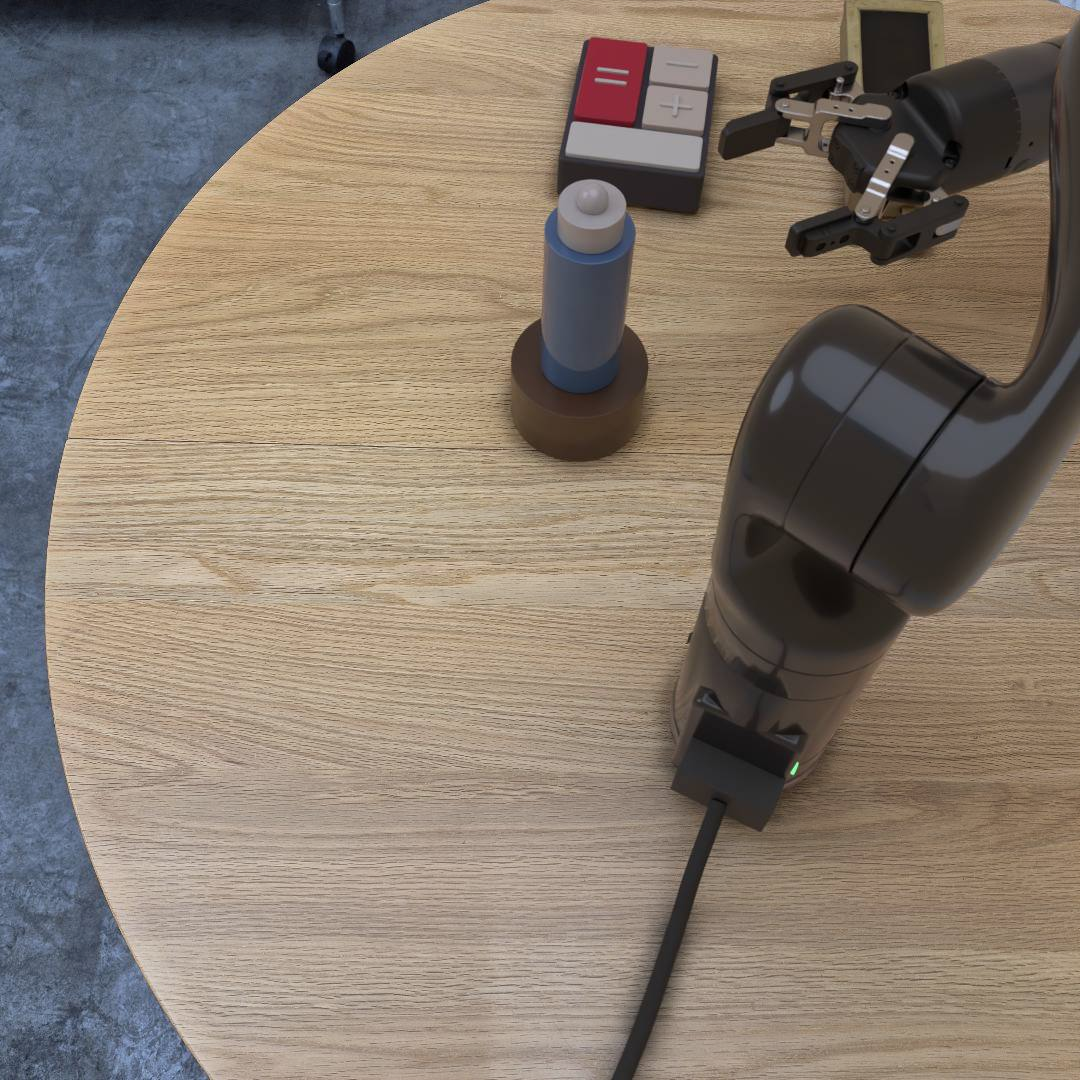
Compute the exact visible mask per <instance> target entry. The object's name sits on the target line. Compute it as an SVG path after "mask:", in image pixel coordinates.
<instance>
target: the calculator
mask: <svg viewBox="0 0 1080 1080" xmlns="http://www.w3.org/2000/svg"><path fill="white" fill-rule="evenodd" d="M718 67H719V56H718V55H717V54H716V53H715V54H714V52H713V51H712V50H705V49H697V48H689V47H682V46H681V47H680V46H675V45H674V46H672V45H664V44H656V45H655V46H651V45H650V46H649V45H648V43H645V42H639V41H633V40H622V39H614V38H608V37H607V38H605V37H598V36H591V37H590V38H589V39H585V40H584V41H583V44H582V48H581V52H580V56H579V61H578V66H577V71H576V75H575V80H574V84H573V89H572V94H571V98H570V102H569V107H568V111H567V116H566V121H565V126H564V130H563V135H562V139H561V144H560V148H559V154H558V159H557V160H558V162H557V180H556V194H557V195H558V196H560V194H561V193H562V191H563V190H564V189H565V188H566V187H568V186H569V185H571V184H573V183H575V182H578V181H581V180H600V181H604V182H607V183H609V184H611V185H613V186H615V187H616V188H617V189H618V190H620V192H621V193H622V194H623V196H624V198H625V200H626V206H633V207H642V208H649V209H659V210H664V211H665V210H666V211H673V212H681V213H689V214H695V213H697V212H698V211H699V208H700V204H701V198H702V193H703V187H704V182H705V181H704V180H705V176H706V168H707V161H708V160H707V157H708V152H709V143H710V135H711V124H712V118H713V109H714V102H715V101H714V100H715V92H716V85H717V83H716V82H717V76H718V75H717V74H718Z"/></svg>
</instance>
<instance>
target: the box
mask: <svg viewBox="0 0 1080 1080" xmlns="http://www.w3.org/2000/svg"><path fill="white" fill-rule="evenodd" d="M945 41H946V40H945V18H944V3H943V2H942V1H939V0H844V2H843V15H842V19H841V21H840V26H839V62H843V61H852V62H854V63H856V64H857V65H858V67H859V69H858V72H857V76H856V81H857V83H858V84H859V85H860V87H861V88H862V90H863V91H864V92H865V93H874V94H884V93H888V92H890V91H892V90H893V89H895V88H896V87H898V86H899V85H900V84H902V83H903V82H904V81H906V80H907V79H909V78H911V77H912V76H915V75H918V74H921V73H924V72H928V71H931V70H934V69H938V68H941V67H944V66H947V55H946V42H945ZM842 178H843V207H844V206H847V207H848V208H849V210H850V211H854V210H855V207H856V206H857V204H858V202H859V201H860V199H861V197H862V195H861V194H859V193H858V192H857V193H854V194H853V193H852V191H851V190H850V189H849V188H848V186H847V185H846V182H845V179H844V177H842ZM953 195H956V194H953ZM950 196H952V195H950ZM922 206H923V205H911V204H905V203H899V202H893V201H891V202H890V203H889V205H888V207H887V208H886V210H885V212H884V214H883V215H882V217H890V218H891V217H892V218H897V217H899V216H902V215H904V214H907V213H909V212H912V211H914V210H917V209H919V208H922ZM920 253H923V251H920V252H918V253H915V254H914V255H917V254H920Z"/></svg>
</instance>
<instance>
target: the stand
mask: <svg viewBox="0 0 1080 1080" xmlns="http://www.w3.org/2000/svg"><path fill="white" fill-rule="evenodd" d="M512 348H513V349H512V351H511V355H510V411H511V417H512V421H513V424H514V426H515V428H516V430H517V432H519V434H520V436H521V437H522V438H523V440H525V442H526V443H528V445H530V446H531V447H533V449H536V450H537V451H538V452H540V453H542V454H544V455H546V456H548V457H551V458H554V459H557V460H562V461H567V462H589V461H595V460H599V459H602V458H605V457H608V456H610V455H612V454H614V453H616V452H618V451H619V450H620V449H622V448H623V447H624V446H625V445H626V444H628V442H629V441H630V440H632V438H633V437H634V435H635V434H636V432H637V430H638V427H640V426H639V425H640V423H641V419H642V413H643V407H644V401H645V394H646V390H647V389H646V388H647V382H648V375H649V366H650V365H649V357H648V353H647V350H646V348H645V346H644V343H643V342H642V340H641V339H640V337H639V336H638V335H637V333H636V332H635V331H634V330H633V329H632V328H631V327H630V326H628V325H627V324H626V323H625V325H624V333H623V341H622V349H621V357H620V365H619V370H618V373H617V375H616V377H615V378H614V379H613V381H612V382H611V383H610V384H608V385H607V386H606V387H604V388H602V389H600V390H598V391H595V392H591V393H583V394H581V393H571V392H567V391H564V390H562V389H560V388H558V387H556V386H555V385H553V384H552V383H551V382H550V381H549V380H548V379H547V378H546V377H545V375H544V373H543V371H542V369H541V365H540V348H541V317H539V318H538V319H536V320H535V321H533V322H532V323H531V324H530V325H528V326H527V327H526V328H525V329H524V330H523V331H522V333H520V335H519V336H518V338H517V340H515V343H514V345H513V347H512Z"/></svg>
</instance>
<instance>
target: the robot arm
mask: <svg viewBox="0 0 1080 1080" xmlns="http://www.w3.org/2000/svg"><path fill="white" fill-rule="evenodd" d="M858 69H859V67H858V65H857V64H856V63H854V62H852V61H843V62H840V61H839V62H835V63H830V64H826V65H823V66H818V67H815V68H810V69H806V70H802V71H798V72H793V73H790V74H786V75H781V76H777V77H774V78H772V79H771V81H770V83H769V88H768V91H767V92H768V93H767V98H766V100H765V105H764V109H763V110H759V111H756V112H753V113H749V114H747V115H742V116H740V117H736V118H733V119H731V120H729V121H728V122H726V123H725V126H724V127H723V128H722V129H721V131H720V135H719V140H718V145H717V152H718V154H719V155H720V156H721V158H722V159H723V160H724V161H731V160H733V159H737V158H740V157H744V156H747V155H750V154H753V153H757V152H761V151H763V150H766V149H770V148H773V147H775V145H776V144H781V145H788V146H793V147H798V148H801V149H802V150H803V151H804V153H805V154H806V155H807V156H811V157H818V158H822V159H827V161H828V162H829V164H830V166H832V168H833V169H834V170H835V171H837V172H838V173H839V174H841V175H842V176H843V177H844V179H845V182H846V185H847V186H848V188H849V189H850V190H851V191H852V193H853V194H854V193H857V192H858V193H859V194H861V195H862V197H861V199H860V201H859V202H858V204H857V206H856V207H855V210H854V211H850V210H849V208H848V207H847V206H844V205H843V206H842V207H839V208H835V209H832V210H829V211H826V212H823V213H820V214H817V215H814V216H811V217H807V218H804V219H801V220H799V221H796V222H794V223H793V224H792V225H790V227H789V229H788V233H787V236H786V239H785V243H784V248H785V250H786V251H787V253H788V254H789V256H790V257H792V258H797V257H799V256H802V258H814V257H818V256H820V255H824V254H827V253H829V252H832V251H835V250H838V249H841V248H845V247H848V246H849V247H851V248H854V249H859V248H861V249H863V250H864V251H866V252H868V253H869V254H870V255H869V260H870V261H871V263H872V264H873V265H875V266H878V267H885V266H888V265H890V264H893V263H895V262H898V261H901V260H903V259H905V258H908V257H910V256H912V255H916V254H915V253H917V254H919V253H918V252H920V251H922V252H924V251H925V250H927V249H930V248H932V247H935V246H938V245H940V244H942V243H945V242H947V241H950V240H952V239H954V238H955V237H956V235H957V234H958V231H959V228H961V225H962V223H963V220H964V218H965V216H966V213H967V211H968V209H969V206H970V201H969V200H968V198H967V197H966V196H963V195H962V194H959V193H962V192H964V191H968V190H971V189H974V188H977V187H980V186H982V185H986V184H990V183H992V182H995V181H998V180H1002V179H1003V178H1008V177H1011V176H1014V175H1016V174H1019V173H1022V172H1026V171H1028V170H1031V169H1033V168H1036V167H1038V166H1040V165H1041V164H1043V163H1045V162H1047V161H1048V180H1049V183H1048V185H1049V186H1048V187H1049V235H1048V236H1049V237H1048V249H1047V257H1046V266H1045V275H1044V282H1043V290H1042V297H1041V302H1040V308H1039V313H1038V317H1037V322H1036V326H1035V330H1034V332H1033V336H1032V340H1031V343H1030V346H1029V349H1028V352H1027V356H1026V358H1025V362H1024V364H1023V367H1022V370H1021V371H1020V373H1019V374H1018V376H1016V377H1015V378H1014V379H1013V380H1011V381H1009V382H1002V381H1000V380H998V379H996V378H994V377H993V376H988V374H987V373H986V372H984V371H983V370H982V369H979V368H978V367H976V366H974V365H973V364H971V363H970V362H967V361H966V360H964V359H962V358H960V357H959V356H957V355H955V354H954V353H951V352H950V351H948V350H946V349H945V348H943V347H942V346H940V345H938V344H936V343H935V342H933V341H931V340H930V339H928V338H927V337H924V336H922V335H921V334H918V333H917V332H915V331H914V330H912V329H910V328H908V327H907V326H906V325H904V324H901V323H900V322H898V321H896V320H895V319H893V318H892V317H889V316H888V315H885V314H884V313H882V312H880V311H878V310H876V309H874V308H872V307H870V306H868V305H863V304H858V303H846V304H840V305H837V306H834V307H832V308H829V309H826V310H824V311H823V312H821V313H819V314H818V315H816V316H814V317H813V318H812V319H810V320H809V321H808V322H807V323H805V324H804V325H803V326H802V327H801V328H799V329H798V330H797V331H796V332H795V333H794V334H793V335H792V336H791V338H789V340H788V341H787V342H786V343H785V344H784V346H783V347H782V348H781V349H779V352H778V353H777V355H776V356H775V357H774V358H773V360H772V361H771V363H770V364H769V366H768V368H767V369H766V370H765V372H764V374H763V376H762V378H761V379H760V381H759V383H758V384H757V387H756V389H755V391H754V392H753V394H752V396H751V399H750V401H749V403H748V405H747V408H746V411H745V413H744V416H743V418H742V421H741V423H740V427H739V430H738V432H737V435H736V437H735V442H734V444H733V446H732V447H733V448H732V451H731V456H730V459H729V465H728V468H727V473H726V478H725V482H724V489H723V494H722V500H721V506H720V513H719V518H718V522H717V527H716V532H715V535H714V539H713V544H712V549H711V555H710V565H711V573H710V576H709V579H708V583H707V586H706V589H705V591H704V595H703V598H702V601H701V603H700V604H701V605H700V608H699V611H698V613H697V614H698V615H697V618H696V622H695V624H694V627H693V630H692V631H691V632H690V633H689V634H688V637H687V639H686V642H685V645H688V646H687V650H686V654H685V657H684V659H683V663H682V666H681V670H680V673H679V676H678V678H677V680H676V682H675V685H674V687H673V691H672V694H671V697H670V703H669V724H670V730H671V734H672V737H673V741H674V743H675V747H674V751H673V754H672V756H671V763H672V764H673V765H674V766H676V767H677V769H676V771H675V774H674V777H673V778H672V779H673V780H672V782H671V785H670V788H669V790H670V791H673V792H675V793H677V794H679V795H682V796H684V797H686V798H688V799H689V800H691V801H694V802H696V803H699V804H700V805H702V806H704V807H706V810H705V814H704V817H703V819H702V822H701V825H700V827H699V830H698V833H697V835H696V838H695V841H694V843H693V846H692V849H691V852H690V854H689V857H688V860H687V863H686V866H685V869H684V873H683V875H682V878H681V880H680V881H681V882H680V884H679V887H678V891H677V894H676V898H675V901H674V905H673V908H672V911H671V913H670V917H669V920H668V924H667V926H666V930H665V932H664V936H663V939H662V941H661V945H660V947H659V951H658V954H657V957H656V960H655V963H654V966H653V968H652V972H651V975H650V978H649V981H648V983H647V987H646V989H645V992H644V995H643V999H642V1001H641V1004H640V1007H639V1010H638V1012H637V1015H636V1018H635V1020H634V1023H633V1026H632V1028H631V1031H630V1034H629V1036H628V1038H627V1041H626V1043H625V1046H624V1048H623V1051H622V1053H621V1056H620V1058H619V1061H618V1063H617V1065H616V1068H615V1070H614V1073H613V1075H612V1077H611V1079H610V1080H633V1079H634V1077H635V1074H636V1072H637V1069H638V1067H639V1065H640V1062H641V1059H642V1057H643V1054H644V1051H645V1049H646V1047H647V1045H648V1041H649V1039H650V1036H651V1033H652V1030H653V1028H654V1025H655V1022H656V1020H657V1017H658V1014H659V1012H660V1008H661V1005H662V1002H663V1000H664V997H665V993H666V990H667V988H668V984H669V981H670V978H671V975H672V972H673V970H674V969H673V968H674V966H675V962H676V960H677V956H678V953H679V950H680V947H681V944H682V942H683V941H682V940H683V939H684V935H685V931H686V928H687V925H688V922H689V919H690V916H691V913H692V910H693V906H694V903H695V901H696V900H695V899H696V897H697V894H698V893H697V892H698V890H699V887H700V883H701V881H702V877H703V875H704V871H705V869H706V866H707V863H708V860H709V859H710V858H709V857H710V855H711V852H712V849H713V847H714V843H715V840H716V838H717V835H718V833H719V830H720V826H721V824H722V822H723V819H724V816H726V817H727V818H730V819H732V820H734V821H736V822H738V823H741V825H744V826H746V827H748V828H750V829H752V830H754V831H756V832H759V833H762V832H763V830H764V829H765V827H766V825H767V824H768V822H769V820H770V819H771V817H772V816H773V813H774V812H775V809H776V806H777V804H778V801H779V798H780V797H781V795H782V792H784V791H786V790H788V789H790V788H792V787H794V786H796V785H797V784H799V783H800V782H802V781H803V780H804V779H805V778H807V777H808V776H809V774H810V773H812V771H813V770H815V768H816V766H817V765H818V764H819V763H820V760H821V759H822V757H823V755H824V753H825V751H826V749H827V747H828V745H829V743H830V742H831V740H832V739H833V737H834V735H835V734H836V732H837V731H838V728H839V727H840V726H841V724H842V723H843V721H844V720H845V719H846V717H847V715H848V714H849V712H850V711H851V709H852V708H853V707H854V704H855V703H856V702H857V700H858V699H859V697H860V695H861V694H862V692H863V691H864V689H865V688H866V686H867V685H868V683H869V682H870V680H871V679H872V678H873V676H874V674H875V672H876V671H877V669H878V668H879V667H880V666H881V664H882V662H883V661H884V660H885V658H886V656H887V655H888V653H889V652H890V650H891V649H892V647H893V646H894V644H895V643H896V641H897V640H898V638H899V637H900V635H901V634H902V632H903V631H904V629H905V628H906V626H907V624H908V623H909V621H910V619H911V616H914V617H919V618H920V617H921V618H926V617H930V616H934V615H938V614H939V613H941V612H943V611H945V610H947V609H948V608H950V607H951V606H952V605H954V604H956V603H957V602H958V601H960V599H962V597H964V596H965V595H966V594H967V593H968V592H969V591H970V590H971V589H972V588H973V587H974V586H975V585H976V584H977V583H978V582H979V580H981V578H982V577H983V576H984V575H985V573H987V572H988V570H989V569H990V568H991V567H992V565H993V564H994V563H995V562H996V560H997V559H998V558H999V556H1000V555H1001V553H1002V552H1003V551H1004V550H1005V549H1006V547H1007V546H1008V544H1009V543H1010V541H1011V540H1012V539H1013V537H1014V536H1015V534H1016V533H1017V531H1018V530H1019V528H1020V527H1021V526H1022V524H1023V523H1024V521H1025V520H1026V518H1027V517H1028V515H1029V514H1030V512H1031V511H1032V509H1033V507H1034V506H1035V505H1036V503H1037V501H1038V500H1039V498H1040V497H1041V495H1042V494H1043V492H1044V490H1045V489H1046V488H1047V486H1048V484H1049V483H1050V481H1051V479H1052V478H1053V476H1054V475H1055V473H1056V472H1057V470H1058V469H1059V467H1060V465H1061V464H1062V463H1063V461H1064V459H1065V457H1066V456H1067V454H1068V453H1069V452H1070V450H1071V448H1072V447H1073V446H1074V444H1075V442H1076V441H1077V439H1078V437H1079V436H1080V15H1078V17H1077V18H1076V19H1075V21H1074V23H1073V24H1072V25H1071V27H1070V29H1069V31H1068V33H1064V34H1061V35H1058V36H1056V37H1051V38H1049V39H1045V40H1041V41H1039V42H1034V43H1031V44H1025V45H1016V46H1015V45H1014V46H1009V47H1005V48H1000V49H998V50H994V51H991V52H988V53H983V54H980V55H979V56H978V55H977V56H975V57H971V58H968V59H964V60H961V61H958V62H954V63H951V64H946V66H944V67H941V68H938V69H934V70H931V71H928V72H924V73H921V74H918V75H915V76H912V77H911V78H909V79H907V80H906V81H904V82H903V83H902V84H900V85H899V86H898V87H896V88H895V89H893V90H892V91H890V92H888V93H884V94H874V93H865V92H864V91H863V90H862V88H861V87H860V85H859V84H858V83H857V81H856V76H857V72H858ZM794 94H795V96H793V97H791V96H790V95H794ZM792 121H798V122H803V123H808V124H809V126H808V127H806V128H805V127H799V126H793V125H791V124H792ZM830 121H831V122H837V123H836V125H835V126H834V128H833V129H832V132H831V136H830V138H827V137H824V136H823V135H822V131H823V128H824V126H825V124H826V123H827V122H830ZM843 177H842V178H843ZM844 179H843V180H844ZM953 194H955V195H953ZM950 195H952V196H950ZM891 201H893V202H899V203H905V204H911V205H923V206H922V208H919V209H917V210H914V211H912V212H909V213H907V214H904V215H902V216H899V217H893V218H891V219H889V220H887V221H883V220H882V218H883V216H882V215H883V214H884V212H885V210H886V208H887V207H888V205H889V203H890V202H891ZM920 253H921V252H920Z"/></svg>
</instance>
